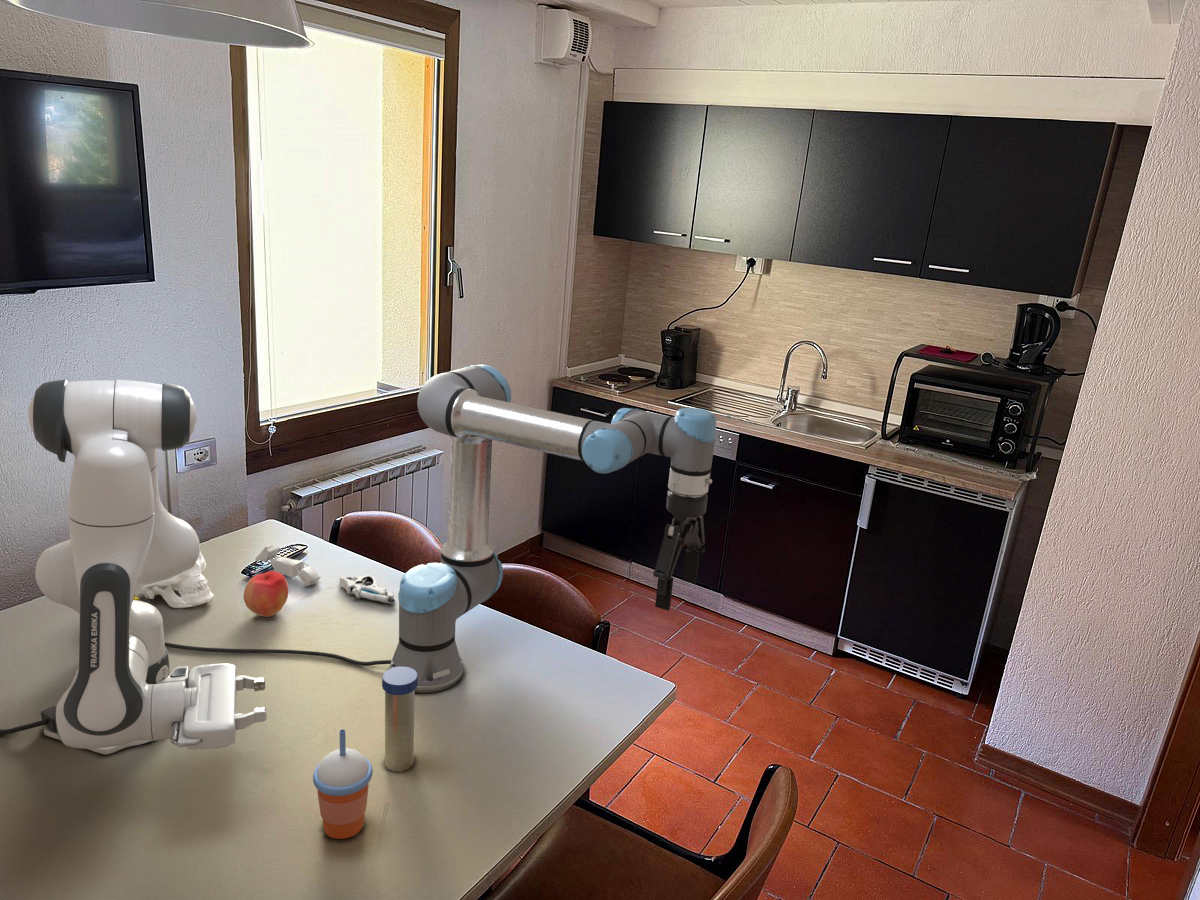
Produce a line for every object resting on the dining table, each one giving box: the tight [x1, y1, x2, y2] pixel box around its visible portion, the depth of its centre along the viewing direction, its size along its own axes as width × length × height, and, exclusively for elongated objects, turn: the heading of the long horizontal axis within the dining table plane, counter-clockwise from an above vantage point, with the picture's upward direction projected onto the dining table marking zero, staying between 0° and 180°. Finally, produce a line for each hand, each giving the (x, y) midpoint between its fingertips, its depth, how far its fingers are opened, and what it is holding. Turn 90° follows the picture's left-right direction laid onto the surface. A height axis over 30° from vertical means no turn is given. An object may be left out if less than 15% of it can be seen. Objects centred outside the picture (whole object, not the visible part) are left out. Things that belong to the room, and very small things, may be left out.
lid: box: [381, 667, 418, 695], centre depth 149 cm, size 6×6×2 cm
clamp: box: [254, 544, 322, 587], centre depth 219 cm, size 20×4×7 cm, turn 62°
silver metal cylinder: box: [384, 690, 416, 773], centre depth 152 cm, size 5×5×18 cm
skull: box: [137, 550, 214, 609], centre depth 203 cm, size 13×22×16 cm, turn 73°
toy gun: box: [338, 574, 395, 604], centre depth 214 cm, size 18×2×10 cm
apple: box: [243, 570, 289, 618], centre depth 199 cm, size 10×10×10 cm
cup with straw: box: [312, 728, 374, 840], centre depth 136 cm, size 9×9×18 cm
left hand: (265, 698), depth 144 cm, fingers open, 8 cm apart
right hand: (676, 594), depth 165 cm, fingers open, 13 cm apart
